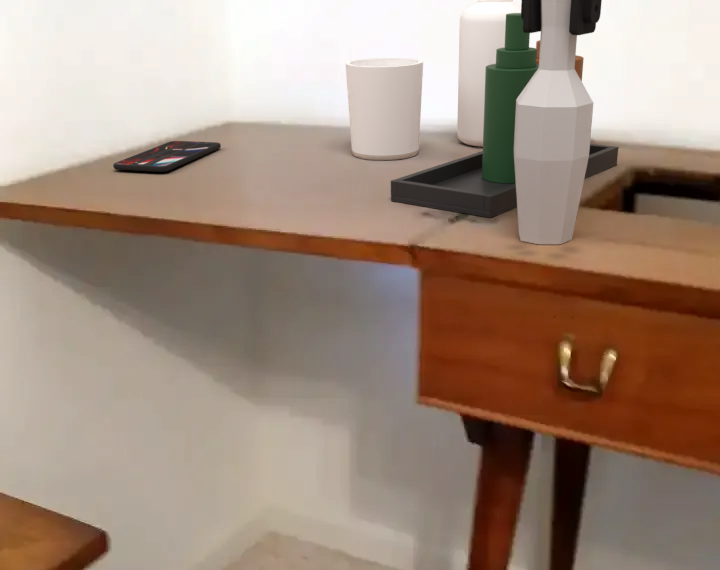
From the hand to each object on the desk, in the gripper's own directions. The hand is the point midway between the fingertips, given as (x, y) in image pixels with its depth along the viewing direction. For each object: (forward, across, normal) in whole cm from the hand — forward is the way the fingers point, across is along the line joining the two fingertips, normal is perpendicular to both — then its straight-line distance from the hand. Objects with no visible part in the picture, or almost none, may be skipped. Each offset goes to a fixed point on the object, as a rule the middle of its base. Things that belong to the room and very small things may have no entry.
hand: (558, 30), depth 77 cm
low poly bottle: (+17, 0, 0) cm, 17 cm away
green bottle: (+16, +13, -16) cm, 26 cm away
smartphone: (+17, +53, -4) cm, 56 cm away
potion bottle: (+17, +26, -33) cm, 45 cm away
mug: (+17, +34, -21) cm, 43 cm away
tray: (+17, +13, -16) cm, 26 cm away
